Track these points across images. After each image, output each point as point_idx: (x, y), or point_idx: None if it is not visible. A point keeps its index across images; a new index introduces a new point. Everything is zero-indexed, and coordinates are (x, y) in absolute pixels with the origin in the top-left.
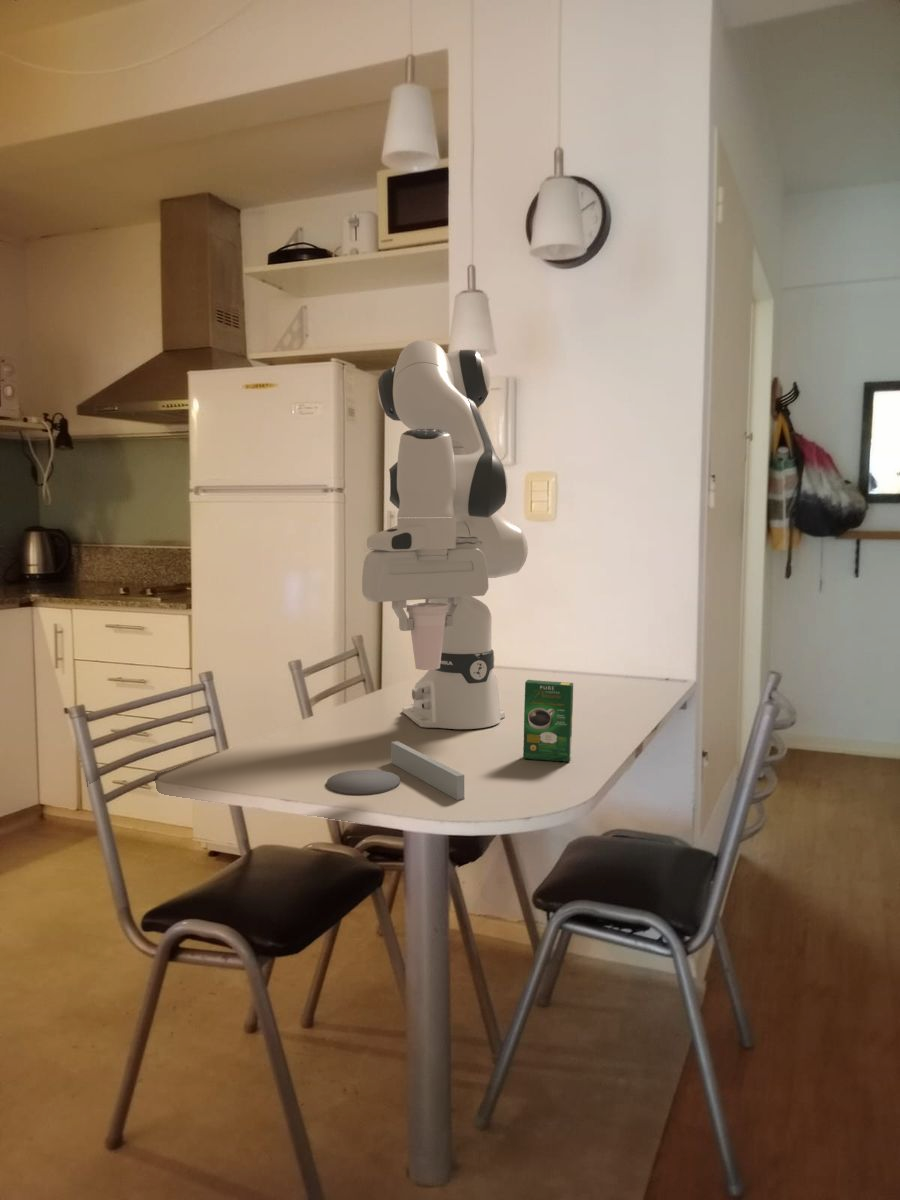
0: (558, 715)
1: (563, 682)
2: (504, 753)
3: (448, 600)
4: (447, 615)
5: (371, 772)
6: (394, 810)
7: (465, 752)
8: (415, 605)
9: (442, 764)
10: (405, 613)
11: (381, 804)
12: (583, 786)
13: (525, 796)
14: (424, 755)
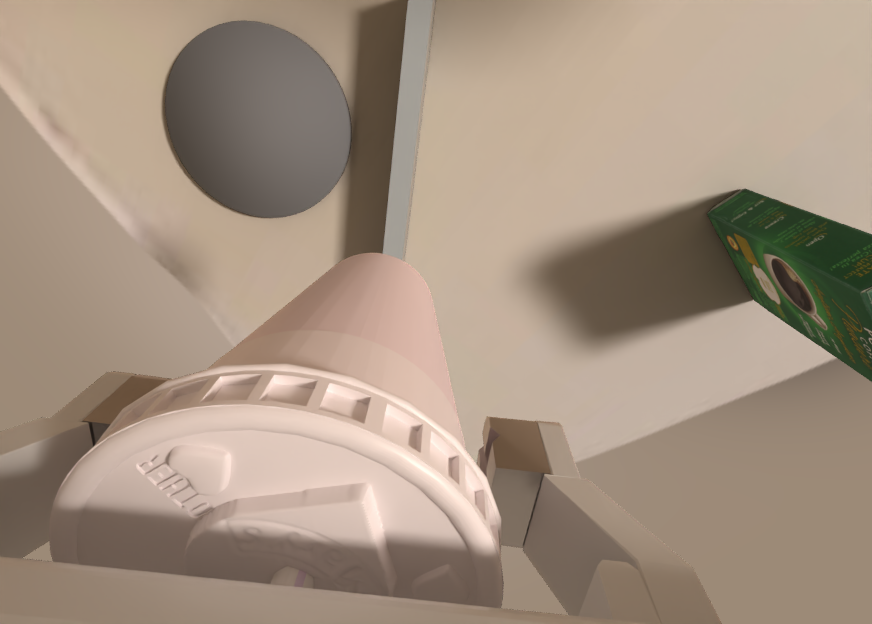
0: (821, 333)
1: None
2: (724, 131)
3: (601, 608)
4: (523, 504)
5: (304, 78)
6: (245, 320)
7: (657, 44)
8: (160, 534)
9: None
10: (42, 544)
11: (237, 278)
12: (623, 420)
13: (496, 400)
14: (406, 192)
